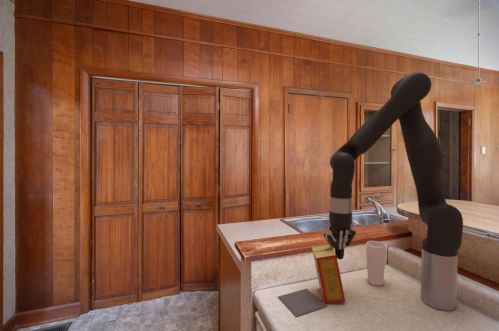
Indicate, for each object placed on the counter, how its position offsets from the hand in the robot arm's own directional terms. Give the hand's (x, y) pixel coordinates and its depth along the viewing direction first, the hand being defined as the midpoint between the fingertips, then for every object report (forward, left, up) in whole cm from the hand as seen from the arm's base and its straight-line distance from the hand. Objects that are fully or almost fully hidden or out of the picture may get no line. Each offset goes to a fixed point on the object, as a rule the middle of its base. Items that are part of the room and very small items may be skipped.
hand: (339, 258), depth 86 cm
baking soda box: (+4, +1, -12) cm, 13 cm away
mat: (+15, -1, -12) cm, 20 cm away
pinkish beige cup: (-17, +1, -13) cm, 21 cm away
